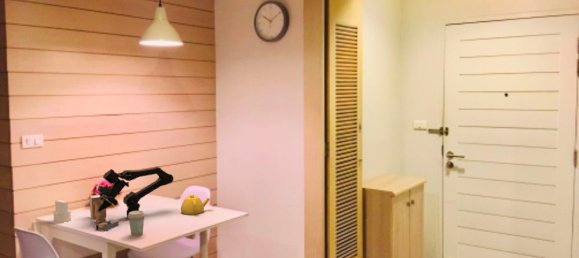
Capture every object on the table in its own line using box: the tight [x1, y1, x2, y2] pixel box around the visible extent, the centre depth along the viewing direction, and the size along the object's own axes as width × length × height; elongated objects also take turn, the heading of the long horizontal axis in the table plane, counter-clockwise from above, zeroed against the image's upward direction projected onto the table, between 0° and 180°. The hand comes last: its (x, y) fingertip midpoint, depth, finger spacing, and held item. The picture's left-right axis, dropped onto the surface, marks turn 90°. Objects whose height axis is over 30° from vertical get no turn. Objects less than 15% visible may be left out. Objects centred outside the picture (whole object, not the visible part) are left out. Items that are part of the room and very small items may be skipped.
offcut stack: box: [97, 223, 107, 232], centre depth 257 cm, size 4×3×4 cm
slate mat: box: [93, 220, 108, 227], centre depth 269 cm, size 7×7×1 cm
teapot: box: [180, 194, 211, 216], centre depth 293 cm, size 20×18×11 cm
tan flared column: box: [95, 200, 107, 222], centre depth 268 cm, size 4×4×12 cm
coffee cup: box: [127, 210, 146, 237], centre depth 248 cm, size 9×8×12 cm
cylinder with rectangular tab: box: [53, 199, 72, 224], centre depth 273 cm, size 9×9×12 cm
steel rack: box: [95, 220, 120, 232], centre depth 260 cm, size 11×6×2 cm, turn 160°
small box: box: [89, 194, 107, 220], centre depth 281 cm, size 8×6×13 cm
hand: (97, 210), depth 267 cm, fingers closed on tan flared column, 3 cm apart
